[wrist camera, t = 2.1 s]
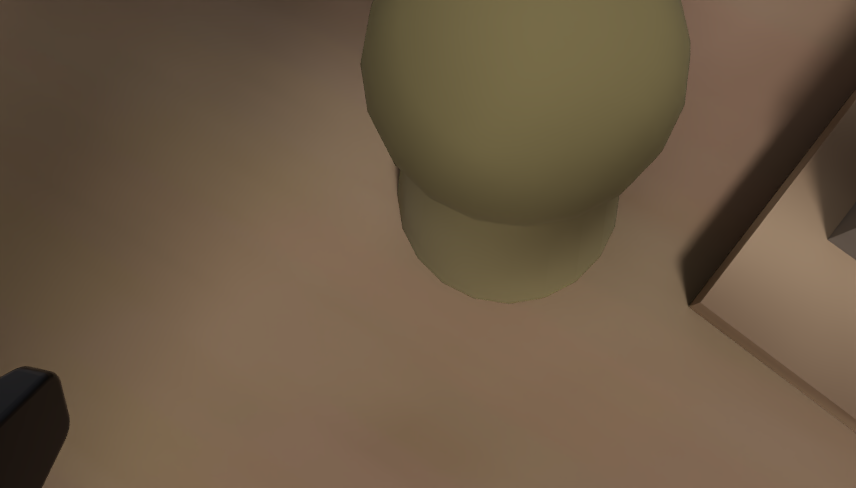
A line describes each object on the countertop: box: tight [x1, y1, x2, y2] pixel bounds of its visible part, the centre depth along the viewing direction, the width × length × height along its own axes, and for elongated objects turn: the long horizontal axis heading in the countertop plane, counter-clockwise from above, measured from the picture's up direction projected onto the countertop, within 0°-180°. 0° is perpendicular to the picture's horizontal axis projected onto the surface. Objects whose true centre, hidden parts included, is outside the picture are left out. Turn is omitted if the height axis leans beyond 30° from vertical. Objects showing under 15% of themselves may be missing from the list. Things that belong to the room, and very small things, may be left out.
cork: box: [361, 0, 690, 304], centre depth 17 cm, size 6×6×11 cm
